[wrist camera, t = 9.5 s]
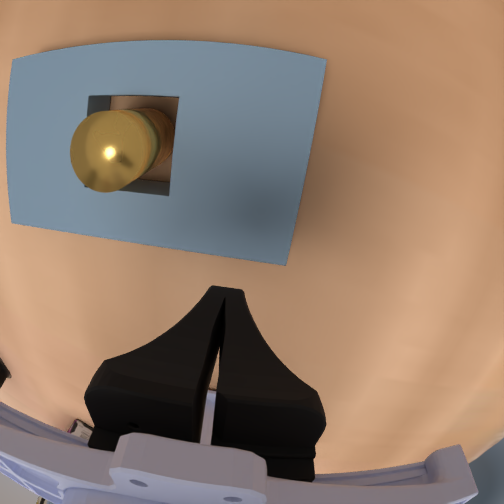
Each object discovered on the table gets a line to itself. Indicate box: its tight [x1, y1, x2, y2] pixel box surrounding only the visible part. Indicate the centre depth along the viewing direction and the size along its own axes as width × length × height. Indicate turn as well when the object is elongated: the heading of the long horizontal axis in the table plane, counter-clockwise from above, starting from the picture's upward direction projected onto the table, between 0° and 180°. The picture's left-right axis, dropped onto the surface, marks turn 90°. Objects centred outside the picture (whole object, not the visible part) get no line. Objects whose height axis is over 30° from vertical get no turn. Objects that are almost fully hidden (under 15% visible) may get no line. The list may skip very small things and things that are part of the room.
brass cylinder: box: [70, 108, 175, 193], centre depth 16 cm, size 4×4×6 cm
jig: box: [6, 40, 327, 266], centre depth 17 cm, size 12×20×3 cm, turn 81°
